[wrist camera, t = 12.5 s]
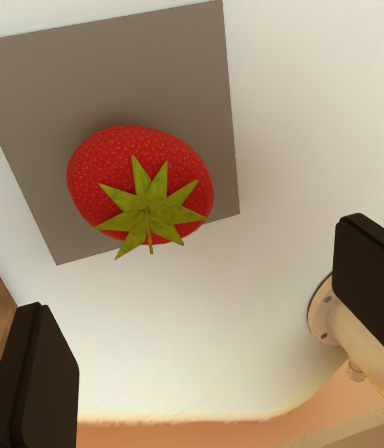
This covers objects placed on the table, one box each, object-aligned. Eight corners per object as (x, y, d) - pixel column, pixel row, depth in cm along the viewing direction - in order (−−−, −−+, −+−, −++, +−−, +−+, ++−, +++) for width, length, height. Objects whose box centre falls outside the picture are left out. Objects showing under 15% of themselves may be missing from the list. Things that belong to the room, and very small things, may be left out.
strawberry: (164, 205, 24) (210, 304, 16) (54, 173, 21) (45, 280, 13) (200, 129, 22) (275, 200, 14) (84, 79, 19) (94, 135, 11)
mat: (236, 210, 27) (239, 213, 26) (57, 260, 25) (56, 265, 24) (218, 0, 19) (222, -1, 19) (-43, 45, 17) (-47, 46, 17)
